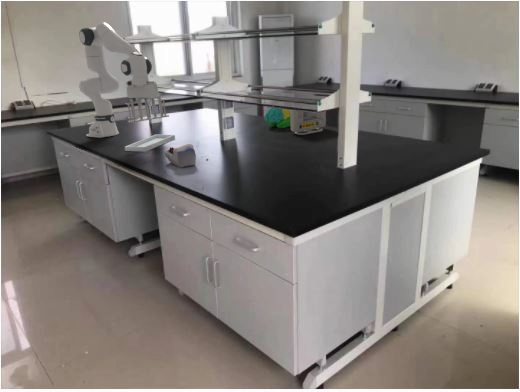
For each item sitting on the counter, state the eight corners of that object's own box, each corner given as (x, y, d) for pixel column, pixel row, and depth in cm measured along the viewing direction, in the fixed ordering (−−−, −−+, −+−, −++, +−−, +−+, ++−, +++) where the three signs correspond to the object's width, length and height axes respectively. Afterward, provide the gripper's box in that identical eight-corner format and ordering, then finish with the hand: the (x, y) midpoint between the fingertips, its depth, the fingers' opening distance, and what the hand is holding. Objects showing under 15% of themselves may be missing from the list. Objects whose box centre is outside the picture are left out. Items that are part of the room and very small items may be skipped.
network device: (319, 127, 283) (319, 97, 276) (328, 129, 276) (328, 98, 269) (288, 133, 271) (287, 101, 264) (297, 135, 264) (296, 103, 257)
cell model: (175, 148, 203) (161, 142, 219) (178, 170, 207) (164, 162, 223) (200, 143, 209) (185, 138, 226) (203, 165, 213) (187, 158, 229)
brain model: (276, 130, 279) (276, 107, 275) (258, 127, 294) (258, 105, 289) (302, 126, 293) (303, 104, 288) (284, 123, 307) (284, 102, 302)
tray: (125, 150, 251) (124, 146, 250) (156, 138, 280) (156, 134, 279) (145, 151, 246) (144, 147, 245) (175, 138, 275) (174, 134, 274)
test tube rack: (130, 122, 250) (126, 100, 245) (127, 122, 253) (123, 99, 249) (169, 116, 264) (166, 94, 259) (166, 116, 267) (163, 94, 263)
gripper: (159, 80, 249) (162, 104, 254) (130, 81, 256) (133, 104, 261) (153, 81, 244) (156, 106, 248) (123, 82, 251) (127, 106, 256)
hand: (144, 105), depth 255 cm, fingers closed on test tube rack, 5 cm apart
